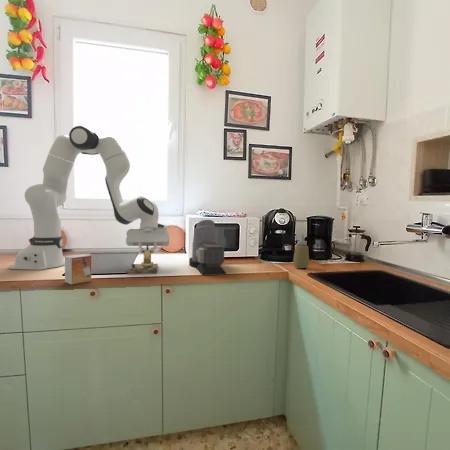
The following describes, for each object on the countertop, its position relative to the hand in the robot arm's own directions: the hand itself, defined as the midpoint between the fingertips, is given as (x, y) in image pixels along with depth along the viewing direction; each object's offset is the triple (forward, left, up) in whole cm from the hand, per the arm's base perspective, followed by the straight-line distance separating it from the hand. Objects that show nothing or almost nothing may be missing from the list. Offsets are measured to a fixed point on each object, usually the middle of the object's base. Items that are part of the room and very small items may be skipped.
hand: (147, 252), depth 133 cm
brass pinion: (0, +1, -6) cm, 6 cm away
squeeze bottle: (+79, 0, -9) cm, 79 cm away
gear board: (-2, +2, -9) cm, 9 cm away
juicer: (+29, +5, -9) cm, 31 cm away
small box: (-25, -16, -9) cm, 31 cm away
